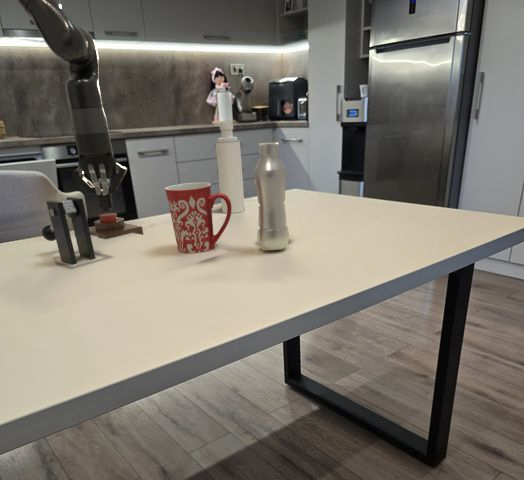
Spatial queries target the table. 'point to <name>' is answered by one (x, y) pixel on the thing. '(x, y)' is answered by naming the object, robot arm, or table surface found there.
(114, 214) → the button
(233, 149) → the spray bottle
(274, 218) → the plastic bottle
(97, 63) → the robot arm
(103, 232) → the button block
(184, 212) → the mug
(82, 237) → the bracket
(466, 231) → the table surface
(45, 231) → the tap lever
